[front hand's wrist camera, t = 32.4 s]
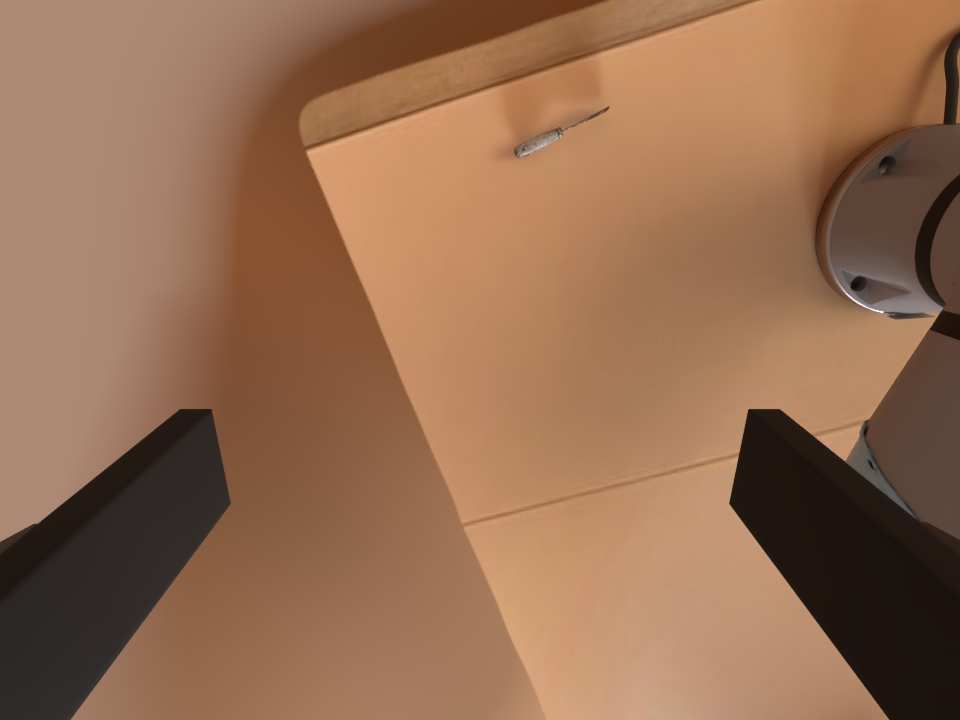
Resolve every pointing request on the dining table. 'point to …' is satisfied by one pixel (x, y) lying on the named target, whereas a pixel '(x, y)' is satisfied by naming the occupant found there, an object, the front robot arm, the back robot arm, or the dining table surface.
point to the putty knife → (546, 138)
